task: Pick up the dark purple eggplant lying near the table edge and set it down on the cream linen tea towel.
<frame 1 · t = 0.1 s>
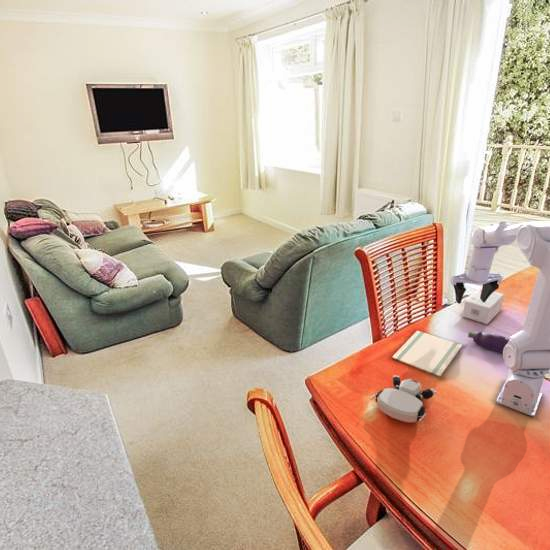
hand: (470, 301, 118), 10 cm above the table, tool pointing down, fingers open, 7 cm apart
small box: (475, 313, 125), point 3 cm above the table
towel: (427, 352, 112), on the table
eggplant: (491, 348, 112), on the table
robot toy: (403, 406, 93), on the table
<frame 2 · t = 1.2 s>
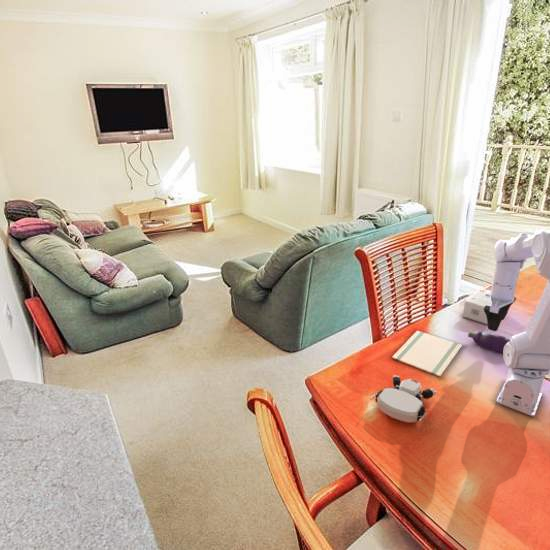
hand: (496, 324, 109), 8 cm above the table, tool pointing down, fingers open, 7 cm apart
nothing on the table moved.
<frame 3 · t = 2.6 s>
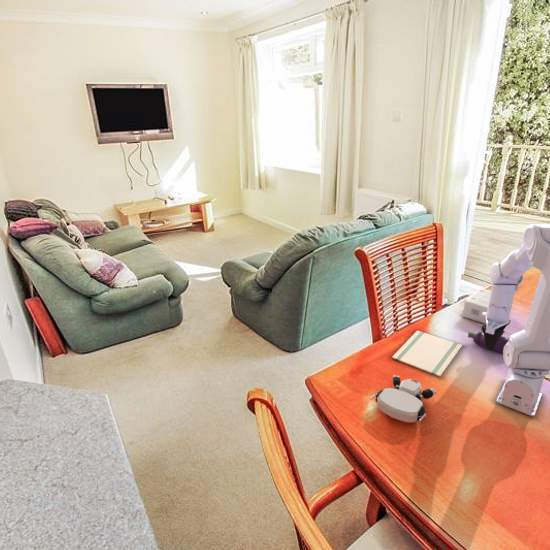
hand: (492, 343, 111), 2 cm above the table, tool pointing down, fingers closed on eggplant, 4 cm apart
eggplant: (491, 348, 112), on the table, touching gripper
everything else where it was.
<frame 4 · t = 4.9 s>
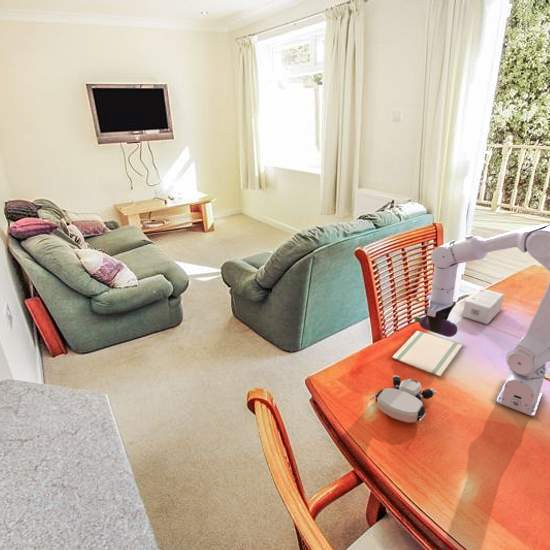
hand: (437, 327, 109), 8 cm above the table, tool pointing down, fingers closed on eggplant, 4 cm apart
eggplant: (437, 332, 110), point 7 cm above the table, touching gripper
everything else where it was.
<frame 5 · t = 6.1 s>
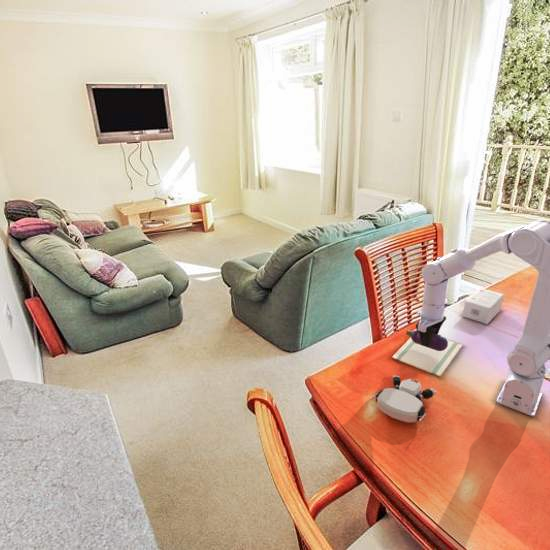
hand: (428, 341, 111), 4 cm above the table, tool pointing down, fingers closed on eggplant, 4 cm apart
eggplant: (428, 346, 112), point 2 cm above the table, touching gripper
everything else where it was.
when the fingers open (2 cm above the table, at t = 7.1 s): eggplant stays where it is, resting on towel.
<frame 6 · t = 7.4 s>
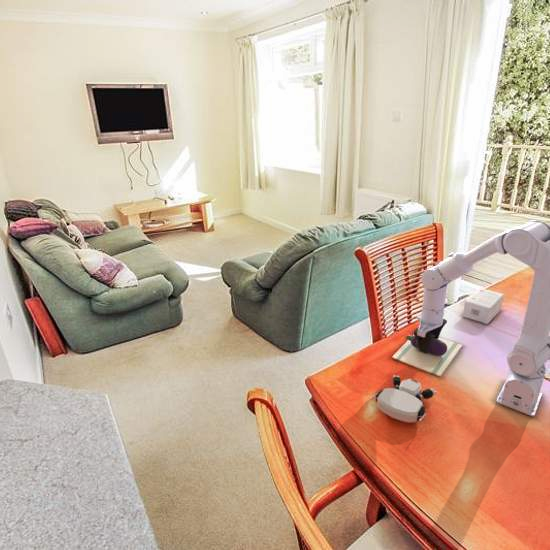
hand: (428, 346, 112), 2 cm above the table, tool pointing down, fingers open, 7 cm apart
eggplant: (427, 350, 112), resting on towel
everything else where it was.
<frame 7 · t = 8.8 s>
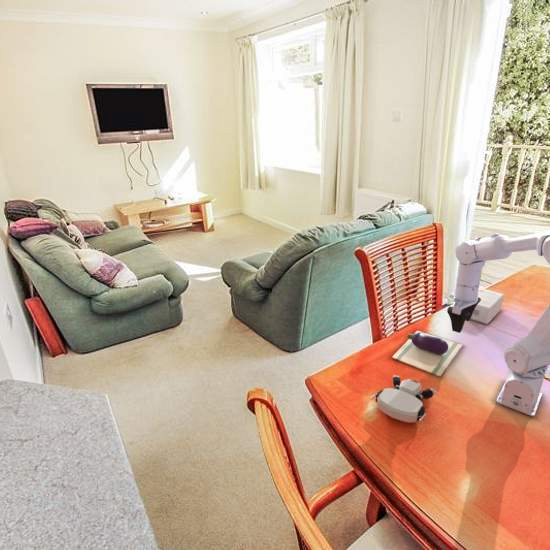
hand: (461, 325, 107), 9 cm above the table, tool pointing down, fingers open, 7 cm apart
eggplant: (427, 350, 112), point 1 cm above the table, tilted 23°, touching towel
everything else where it was.
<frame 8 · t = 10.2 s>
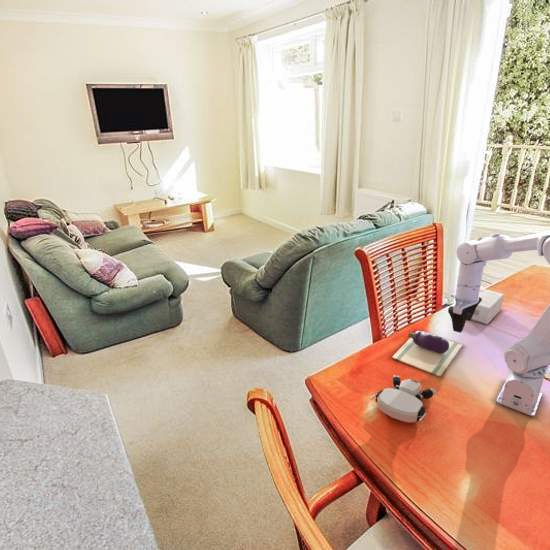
hand: (462, 325, 107), 9 cm above the table, tool pointing down, fingers open, 7 cm apart
eggplant: (427, 348, 112), point 1 cm above the table, tilted 43°, touching towel
everything else where it was.
at the end: eggplant inside the target area on the towel (0.1 cm from its centre), point 1.1 cm above the towel's base; the gripper is holding nothing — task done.
